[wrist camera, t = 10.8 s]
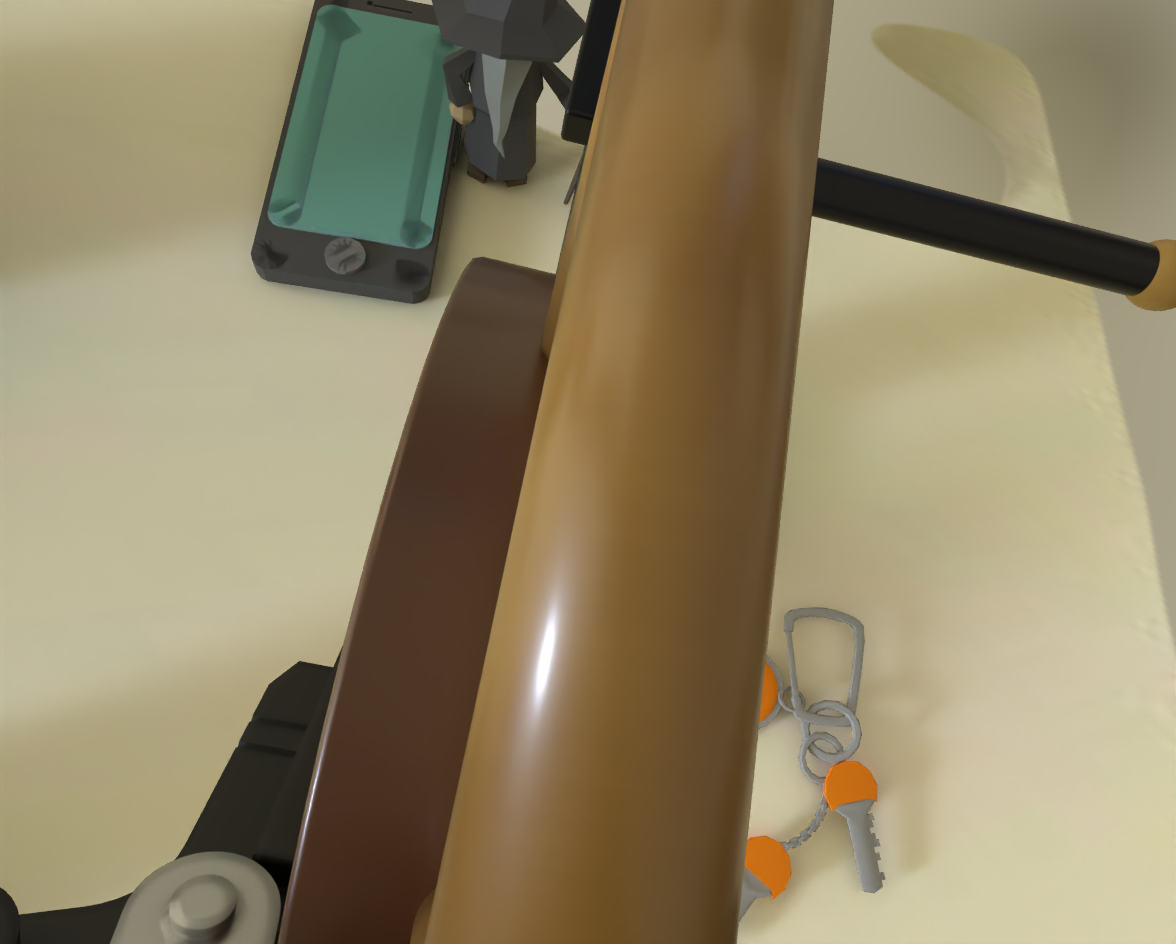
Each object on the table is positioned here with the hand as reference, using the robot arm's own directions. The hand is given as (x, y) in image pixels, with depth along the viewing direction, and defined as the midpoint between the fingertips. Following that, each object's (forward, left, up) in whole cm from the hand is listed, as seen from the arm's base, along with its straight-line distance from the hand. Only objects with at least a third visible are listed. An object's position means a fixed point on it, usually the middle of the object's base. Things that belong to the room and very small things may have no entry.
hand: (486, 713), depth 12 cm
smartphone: (-20, +16, -21) cm, 34 cm away
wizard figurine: (-15, +21, -21) cm, 33 cm away
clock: (0, 0, -4) cm, 4 cm away
